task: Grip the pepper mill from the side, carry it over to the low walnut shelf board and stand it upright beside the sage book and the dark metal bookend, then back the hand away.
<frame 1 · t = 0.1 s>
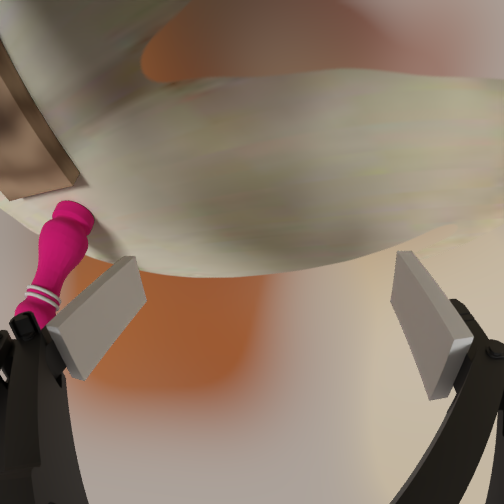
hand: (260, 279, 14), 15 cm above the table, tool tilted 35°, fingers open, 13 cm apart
pepper mill: (75, 213, 36), on the table
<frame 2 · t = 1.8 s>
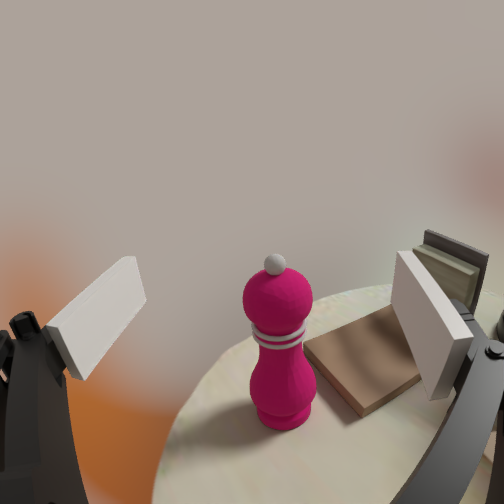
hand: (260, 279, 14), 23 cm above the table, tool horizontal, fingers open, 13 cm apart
shelf board: (396, 347, 38), on the table
pepper mill: (284, 410, 32), on the table
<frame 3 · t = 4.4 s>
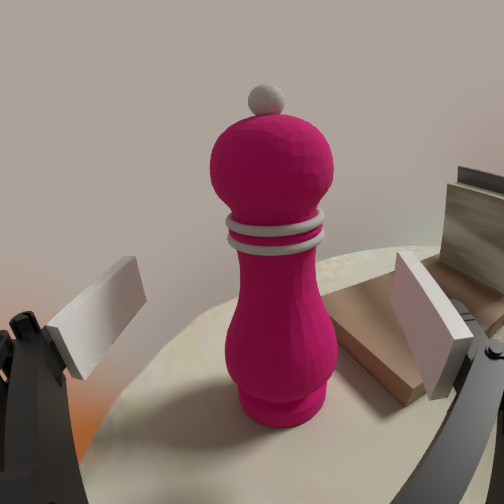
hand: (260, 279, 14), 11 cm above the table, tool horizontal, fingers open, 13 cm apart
shelf board: (437, 310, 27), on the table
pepper mill: (282, 396, 20), on the table
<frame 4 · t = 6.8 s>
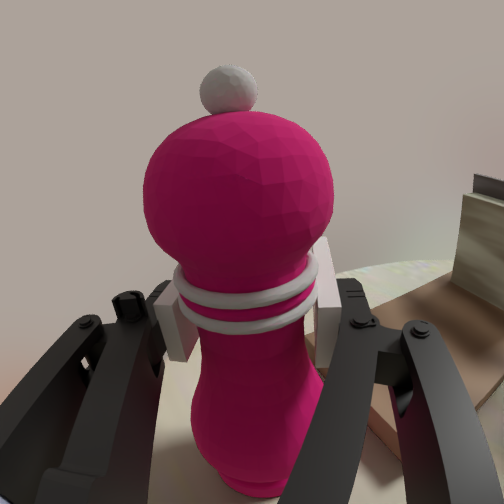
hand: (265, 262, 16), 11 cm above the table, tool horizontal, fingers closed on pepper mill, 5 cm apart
shelf board: (449, 343, 22), on the table
pepper mill: (265, 458, 16), on the table, touching gripper
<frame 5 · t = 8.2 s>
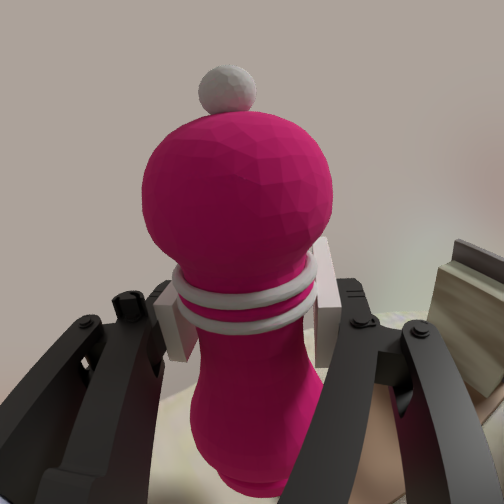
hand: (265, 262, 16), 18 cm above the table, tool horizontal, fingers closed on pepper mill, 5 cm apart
shelf board: (404, 416, 23), on the table
pepper mill: (265, 458, 16), point 6 cm above the table, touching gripper
when the fingers open (14 cm above the table, at t = 9.8 s): pepper mill drops 1 cm, resting on shelf board.
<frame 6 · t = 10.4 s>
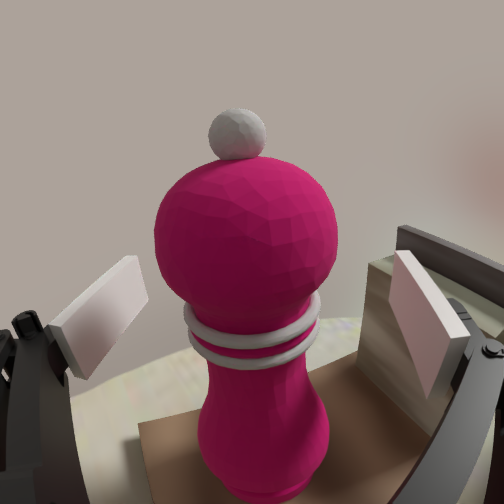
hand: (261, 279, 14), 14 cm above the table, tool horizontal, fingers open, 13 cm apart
shelf board: (317, 456, 18), on the table
pepper mill: (266, 468, 16), point 2 cm above the table, touching shelf board
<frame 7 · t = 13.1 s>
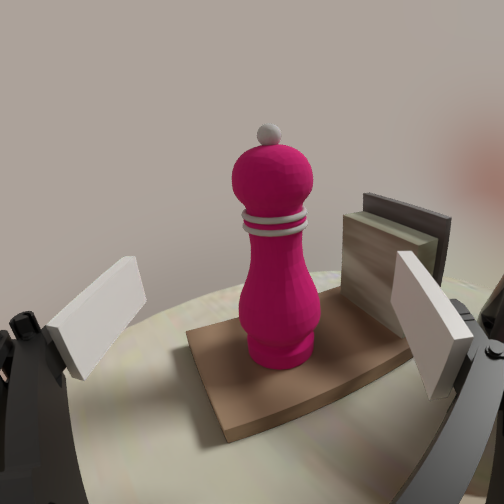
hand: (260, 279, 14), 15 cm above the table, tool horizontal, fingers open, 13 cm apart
shelf board: (315, 349, 30), on the table
pepper mill: (281, 349, 28), point 2 cm above the table, touching shelf board
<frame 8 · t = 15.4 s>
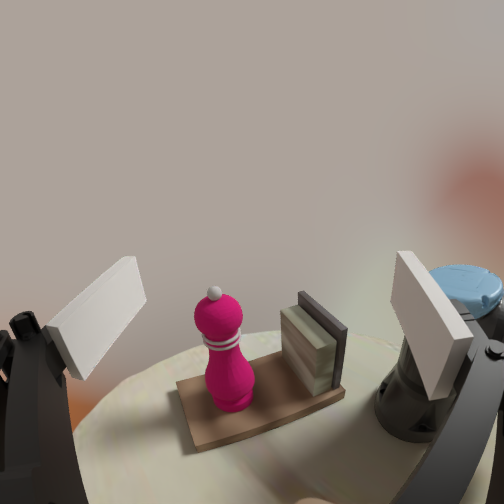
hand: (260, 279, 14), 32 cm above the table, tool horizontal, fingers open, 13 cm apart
shelf board: (258, 397, 45), on the table
pepper mill: (233, 398, 43), point 2 cm above the table, touching shelf board
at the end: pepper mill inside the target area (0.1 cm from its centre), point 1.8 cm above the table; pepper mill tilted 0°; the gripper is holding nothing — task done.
